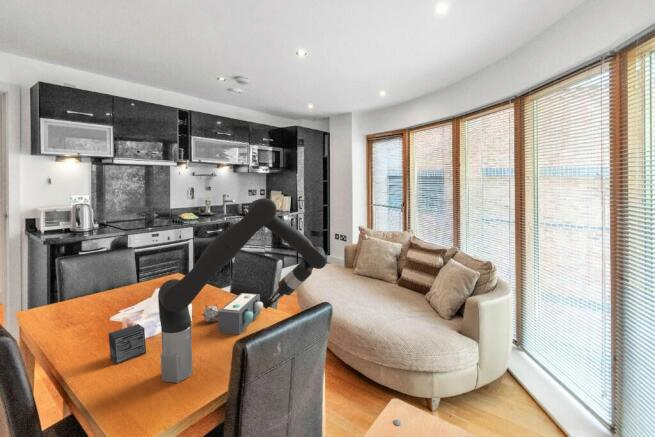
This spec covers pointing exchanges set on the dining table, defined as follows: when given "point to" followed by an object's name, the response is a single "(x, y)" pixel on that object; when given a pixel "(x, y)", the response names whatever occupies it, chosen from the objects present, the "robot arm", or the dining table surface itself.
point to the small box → (127, 343)
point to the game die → (211, 313)
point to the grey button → (258, 306)
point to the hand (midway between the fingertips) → (264, 306)
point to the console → (237, 314)
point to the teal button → (248, 316)
